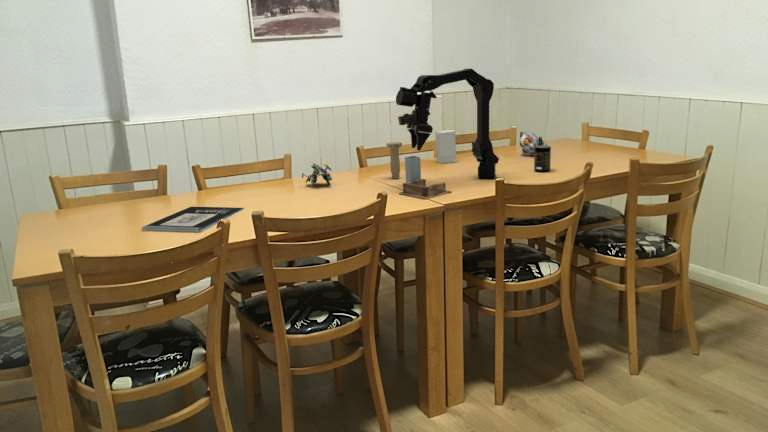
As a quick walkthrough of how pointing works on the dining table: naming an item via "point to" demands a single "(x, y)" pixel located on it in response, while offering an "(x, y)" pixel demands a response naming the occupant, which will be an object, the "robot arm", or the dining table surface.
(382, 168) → the dining table surface
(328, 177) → the dark green irregular figure
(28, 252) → the dining table surface
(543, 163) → the supplement container
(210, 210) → the sketchbook
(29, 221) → the dining table surface
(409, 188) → the brown wooden tray
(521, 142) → the lucky cat figurine
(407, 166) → the post
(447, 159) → the skincare box
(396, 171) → the handle
